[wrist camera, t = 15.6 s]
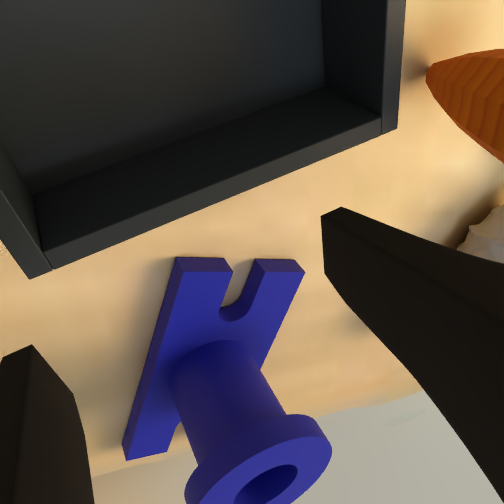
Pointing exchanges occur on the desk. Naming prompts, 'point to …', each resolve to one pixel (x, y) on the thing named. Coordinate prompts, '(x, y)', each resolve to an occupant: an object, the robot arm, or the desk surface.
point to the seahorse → (486, 237)
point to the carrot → (473, 95)
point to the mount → (225, 387)
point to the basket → (175, 108)
